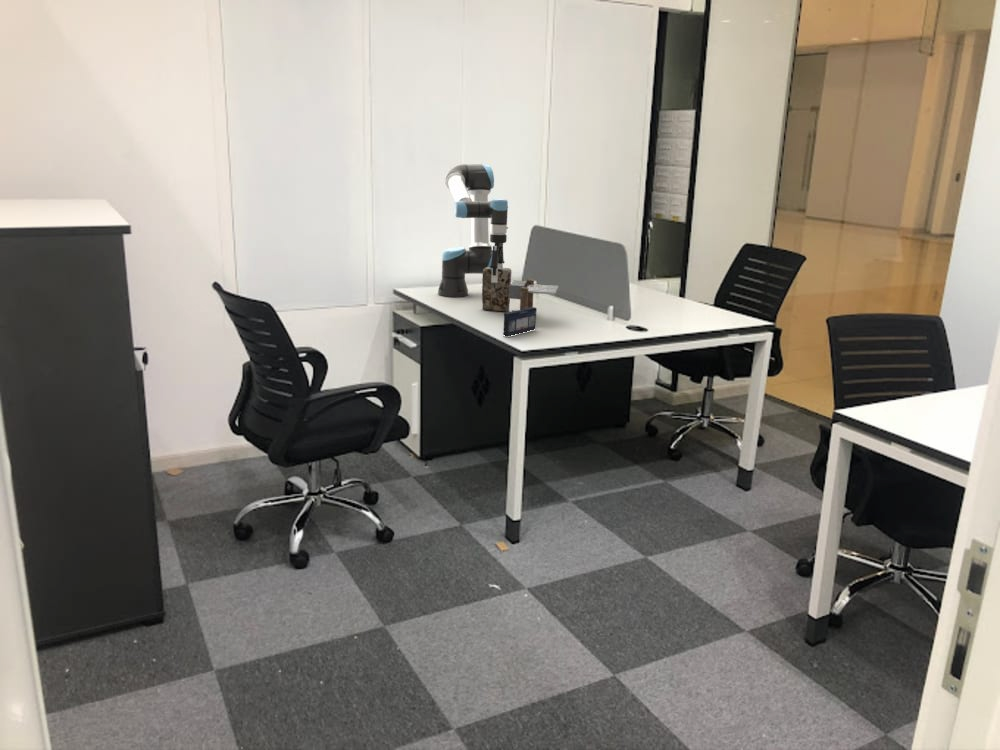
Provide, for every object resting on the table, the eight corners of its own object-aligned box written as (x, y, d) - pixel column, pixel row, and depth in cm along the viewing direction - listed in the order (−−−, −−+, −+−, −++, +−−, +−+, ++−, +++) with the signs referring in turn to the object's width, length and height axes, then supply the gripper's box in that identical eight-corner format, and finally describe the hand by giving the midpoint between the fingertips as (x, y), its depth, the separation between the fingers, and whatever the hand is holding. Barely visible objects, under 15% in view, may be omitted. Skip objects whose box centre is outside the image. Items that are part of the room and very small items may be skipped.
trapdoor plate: (508, 299, 351) (509, 285, 349) (514, 292, 366) (514, 279, 364) (554, 302, 348) (554, 289, 346) (557, 295, 363) (558, 282, 361)
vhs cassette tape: (507, 337, 327) (508, 314, 324) (502, 336, 329) (502, 312, 326) (536, 330, 340) (537, 308, 337) (531, 329, 342) (532, 306, 339)
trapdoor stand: (504, 323, 350) (505, 287, 345) (512, 311, 373) (513, 277, 368) (529, 325, 349) (530, 289, 344) (535, 313, 371) (537, 279, 366)
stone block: (509, 309, 377) (511, 267, 371) (509, 312, 370) (511, 270, 364) (482, 308, 377) (483, 266, 371) (481, 311, 371) (482, 268, 365)
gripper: (502, 237, 351) (500, 285, 357) (510, 231, 374) (509, 276, 380) (485, 236, 352) (483, 284, 358) (495, 230, 375) (493, 275, 382)
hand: (496, 280), depth 369 cm, fingers open, 13 cm apart
